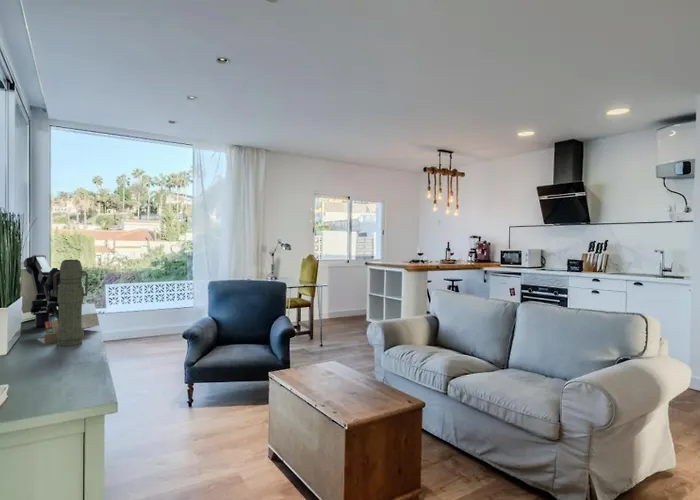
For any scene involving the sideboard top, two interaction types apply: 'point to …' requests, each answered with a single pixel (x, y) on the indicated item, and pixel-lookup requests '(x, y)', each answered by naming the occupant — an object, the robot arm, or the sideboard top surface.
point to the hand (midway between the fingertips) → (59, 319)
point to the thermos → (70, 303)
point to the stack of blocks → (86, 322)
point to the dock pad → (51, 338)
